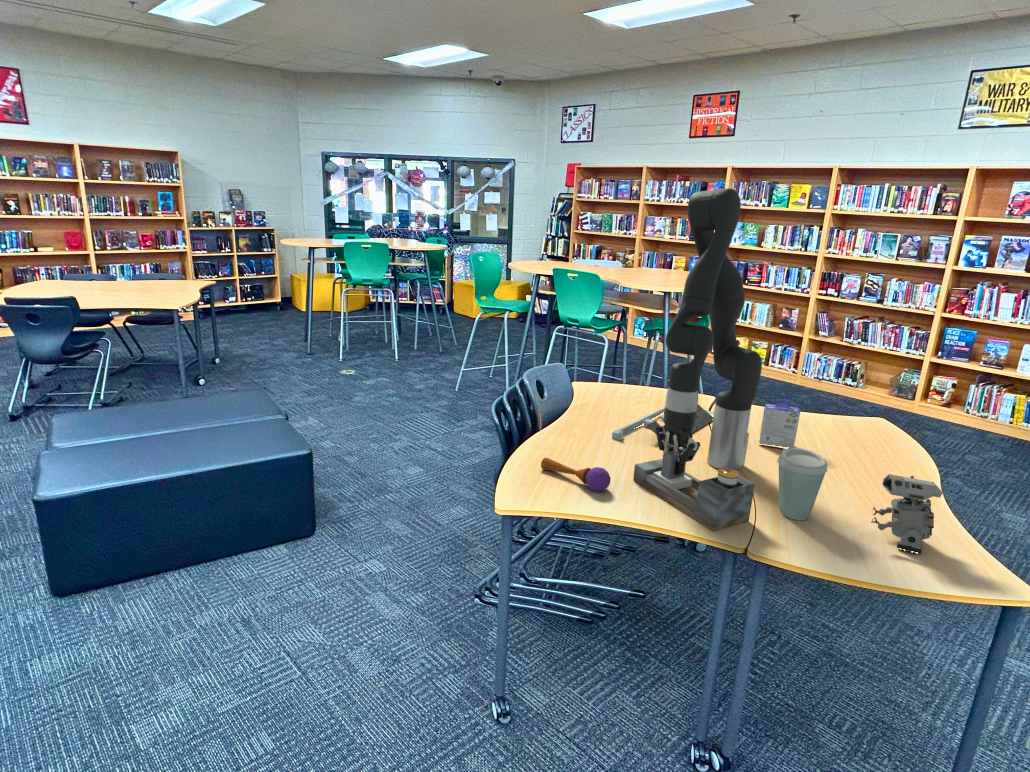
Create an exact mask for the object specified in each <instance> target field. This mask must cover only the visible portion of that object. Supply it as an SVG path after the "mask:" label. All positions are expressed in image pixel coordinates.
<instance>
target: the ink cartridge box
mask: <svg viewBox="0 0 1030 772" xmlns="http://www.w3.org/2000/svg"><path fill="white" fill-rule="evenodd" d="M790 401H791V399H786V398H779V397H776V403H775V404H768V403H765V405H764V408H763V415H762V416H763V417H762V421H761V428H760V435H759V439H760V440H759V439H758V444H759V443H760V444H767V445H775V446H782V447H789V448H795V443H796V437H797V431H798V427H799V421H800V415H801V410H800V408H799V407H794V406H790ZM780 402H785V403H780Z"/></svg>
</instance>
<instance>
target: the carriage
mask: <svg viewBox="0 0 1030 772" xmlns="http://www.w3.org/2000/svg"><path fill="white" fill-rule="evenodd" d="M681 456H682V453H681ZM662 459H663V460H662V468H661V471H657V472H653V475H654V476H656V477H658V478H659V479H661V480H663V481H664V482H666V483H668V484H669V485H671V486H673V487H674V488H676V489H682V488H686V487H690V486H691V482H692V479H691V478H689V477H688V476H686V475H684V474H685V472H686V465H687V462H685V465H684V472H683V473H682V474H681V475H678V476H676V475H675V474H674V468H675V461H676V452H674V451H670V452H665V453H662Z"/></svg>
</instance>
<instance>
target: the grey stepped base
mask: <svg viewBox="0 0 1030 772" xmlns="http://www.w3.org/2000/svg"><path fill="white" fill-rule="evenodd" d="M662 460H663V458H659V459H655V460H649V461H644V462H640V463H635V464H634V471H633V478H632V481H633V482H636V483H637V484H638V485H640V486H642V487H643V488H644V489H646V490H648V491H649V492H650V493H653V494H654V495H656V496H657V497H659V498H661V500H664V501H665V502H667V503H668V504H670V505H671V506H673V507H674V508H675V509H677V510H679V511H681V513H682V512H683V513H684V514H686V515H687V516H689V517H691V518H692V519H693V520H695V521H696V522H699V524H701V525H703V526H704V525H705V527H706V528H707V529H709V528H710V529H709V530H711V531H712V530H713V531H712V532H716V531H715V530H717V531H719V530H724V529H726V527H727V528H730V527H733V525H734V526H737V525H739V524H740V523H741V524H744V523H747V521H748V522H749V521H750V516H751V510H752V503H753V498H754V492H755V486H756V483H755V482H753V481H751V480H749V479H747V478H745V477H743V475H742V476H741V475H740V474H739V479H738V485H737V487H734V488H730V489H727V488H725V487H723V486H721V485H719V484H717V478H718V476H715V477H711V478H708V479H703V480H700V479H698V478H697V477H695V476H693V475H691V474H690V473H687V472H686V471H685V474H684V475H686V476H688V477H689V478H691V479H692V482H691V486H690V487H686V488H682V489H676V488H674V487H673V486H671V485H669V484H668V483H666V482H664V481H663V480H661V479H659V478H658V477H656V476H654V475H653V472H657V471H661V468H662ZM723 528H724V529H723Z"/></svg>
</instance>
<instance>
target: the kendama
mask: <svg viewBox="0 0 1030 772" xmlns="http://www.w3.org/2000/svg"><path fill="white" fill-rule="evenodd" d="M540 467H541V469H542V470H544V471H550V472H556V473H560V474H561V473H562V474H568V475H574V476H576V477H577V478H578V479H579V480H580V482H582V483H583V484H584V485H587V487H588V488H590V489H591V491H594V492H603V491H606V489H608V488H609V486H610V484H611V476H610V472H608V470H607V469H605V468H604V467H599V466H596V467H593V468H591V467H587V468H583V469H582V468H581V469H578V470H576V469H574V468H572V467H569V466H567V465H564V464H563V463H560V462H558V461H555V460H553V459H552V458H549V457H544V458H543V459H542V460H541V463H540Z"/></svg>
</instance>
